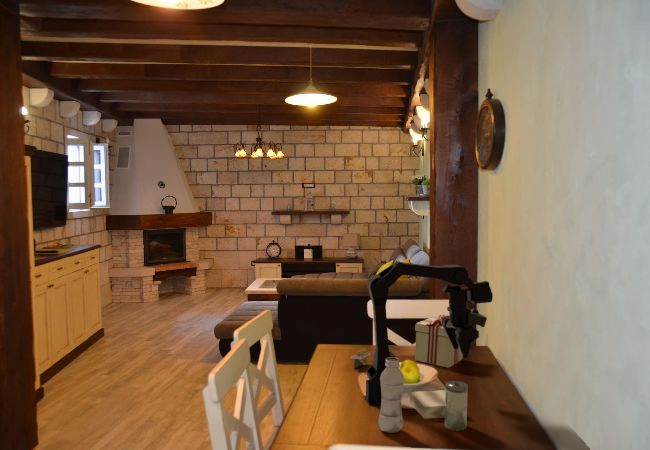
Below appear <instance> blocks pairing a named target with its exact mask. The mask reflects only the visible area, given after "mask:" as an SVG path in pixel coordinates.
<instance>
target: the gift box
mask: <svg viewBox="0 0 650 450" xmlns="http://www.w3.org/2000/svg"><path fill="white" fill-rule="evenodd" d="M444 316H448V315H446V314H439V316H438V317H437V318H436V317H429V318H427V319H424V320H421V321H419V322H417V323H415V327H414V328H415V329H414V332H416V333H415V348H414V349H415V350H414V351H415V352H414V361H417V362H421V363H426V364H429V365H433V366H438V367H443V368H447V369H450V368H451V367H453V366H454V365H456V364H458V363H459V362H461V361H462V360H463V355H462V353H461V350H460V348H459V345H458V349H454V348H453V346H452V344H451V341H450V339H449V337H448V335H447V333H446V331H445V329H444V328H443V325H442V320H441V319H442V318H443V317H444Z"/></svg>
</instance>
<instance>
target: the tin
mask: <svg viewBox="0 0 650 450" xmlns="http://www.w3.org/2000/svg"><path fill="white" fill-rule="evenodd" d="M445 390H446V394H445V417H444V427H445V428H446V429H447V430H450V429H451V431H455V432H460V430H462V431H465V430H466V429H467V422H468V421H467V417H468V391H469V385H468V384H467V383H466V382H464V381H461V380H448V381H447V382H445ZM464 429H465V430H464Z"/></svg>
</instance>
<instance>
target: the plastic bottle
mask: <svg viewBox="0 0 650 450" xmlns="http://www.w3.org/2000/svg"><path fill="white" fill-rule="evenodd" d="M400 365H401V364H400V359H399V358H398V357H396V358H393V357H390V358H386V363H385V366H386V368H385V370H384V371H383V372H382V374H381V377H380V383H381V396H382V402H381V404H380V413H379V416H378V427H379V429H380V430H381V431H382V432H383V433H389V434H394V433H398V432H400V431H402V428H403V423H404V419H403V411H402V398H403V389H404V385H405V384H404V383H405V377H404V374H403V372H402V371H401V370H400Z"/></svg>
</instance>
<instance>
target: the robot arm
mask: <svg viewBox="0 0 650 450" xmlns="http://www.w3.org/2000/svg"><path fill="white" fill-rule="evenodd" d="M402 276H410V277H411V276H412V277H419V278H425V279H426V278H427V279H436V280H437V279H438V280H439V281H440V280H441V281H443V282H446V284H445V285H444V286H443V287H442V288H441V291H442V292H444V293H445V294H446V293H448V307H446V308H447V309H446V310H447V311H448V312H449V315H447V316H444V317H443V318H442V319H441V320H442V325H443V328H444V329H445V331H446V333H447V335H448V337H449V339H450V341H451V344H452V346H453V348H454V349H458V345H459V348H460V350H461V353H462V358H463V359H468V356H469V352H470V350H471V345H472V343H473V342H475V340H478V339H479V338H480V331H479V330H478V329H477V328H475V327H474V326H473V325H477V326H480V327H481V328H485V327H486V323H487V320H488V317H487V316H485V315H483V314H481V313H479V310H478V309H477V308H476V309H475V308H472V307H471V308H469V307H468V306H469V305H468V302H471V304H472V305H475V304H477V305H478V304H489V303H492V302H493V299H494V297H493V292H492V291H493V290H492V288H491V286H490V281H487V280H483V281H477V282H476V281H475V282H473V280H472V279H471V278H470V277H469V272H468V270H467V269H466V268H465V267H463V266H461V265H458V264H454V263H453V264H443V265H429V264H428V265H427V264H419V263H413V262H411V263H410V262H403V261H400V260H398V261H397V260H396V261H394V262H393V263H392V264H391V265H390V266H387V267H386V268H384V269H383V270H382V271H380V272H379V273H377V274H373V275H370V277H368V279H367V282H366V283H367V285H366V286H367V290H368V293H369V297H370V300H371V303H372V312H373V313H372V314H373V315H372V316H373V327H374V337H375V338H374V340H375V342H374V343H375V349H374V354H373V361H372V365H371V366H369V368H368V369H367V370H365V374H366V377H367V378H368V380H365V381H366V382H365V395H364V396H363V397H364V398H363V399H364V400H365V401H366V403H367V404H368V405H369V406H374V405H375V406H376V405H381V402H382V396H381V383H380V377H381V374H382V372H383V371H384V370H385V368H386V366H385V363H386V358H390V357H393V358H397V357H396V355H395V354H394V352H393V350H390V348H389V347H390V346H389V334H388V333H389V332H388V318H387V301H388V297H389V289H390V288H391V286H393V285H394V284H395V283H396V282H397V281H398V280H399V279H400V278H401V277H402ZM450 283H451V284H453V285H450ZM461 286H463V287H461ZM464 286H465V287H464Z"/></svg>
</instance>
